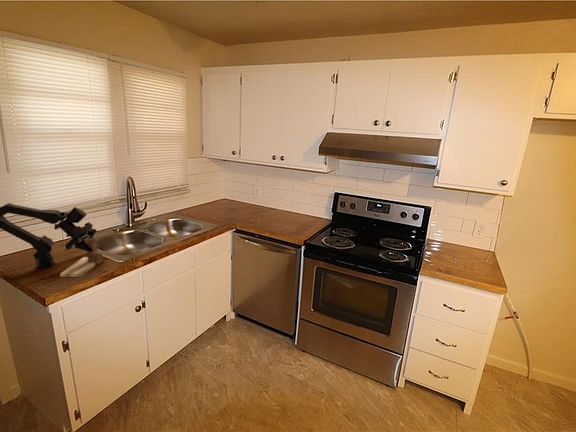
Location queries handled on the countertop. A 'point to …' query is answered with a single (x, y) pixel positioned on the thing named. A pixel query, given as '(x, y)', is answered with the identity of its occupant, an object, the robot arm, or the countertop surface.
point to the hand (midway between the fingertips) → (94, 250)
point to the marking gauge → (93, 252)
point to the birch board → (78, 268)
